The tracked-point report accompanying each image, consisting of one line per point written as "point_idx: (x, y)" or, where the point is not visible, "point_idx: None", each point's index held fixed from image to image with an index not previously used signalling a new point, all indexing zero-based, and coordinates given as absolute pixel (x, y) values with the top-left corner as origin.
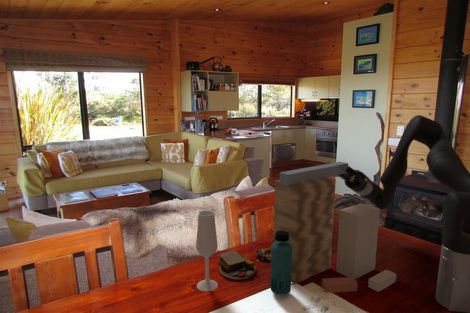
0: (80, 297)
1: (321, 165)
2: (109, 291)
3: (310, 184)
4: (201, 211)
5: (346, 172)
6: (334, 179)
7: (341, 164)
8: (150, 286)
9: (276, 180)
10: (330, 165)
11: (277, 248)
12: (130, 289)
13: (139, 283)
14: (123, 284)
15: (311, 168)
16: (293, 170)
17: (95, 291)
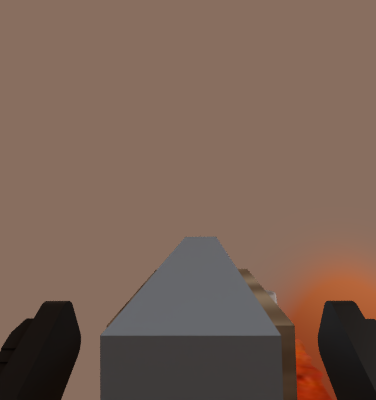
0: (300, 350)
1: (221, 259)
2: (303, 363)
3: (147, 280)
4: (273, 292)
5: (71, 369)
6: (110, 323)
7: (142, 290)
8: (297, 387)
9: (246, 269)
10: (184, 266)
11: None
12: (299, 374)
13: (311, 381)
14: (315, 372)
15: (198, 247)
16: (213, 240)
17: (308, 357)
